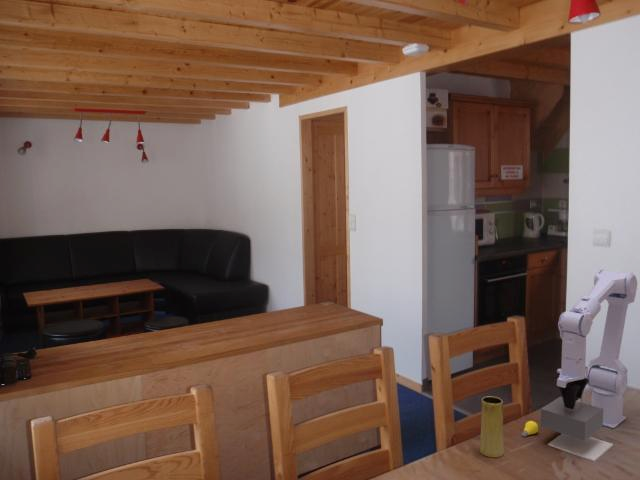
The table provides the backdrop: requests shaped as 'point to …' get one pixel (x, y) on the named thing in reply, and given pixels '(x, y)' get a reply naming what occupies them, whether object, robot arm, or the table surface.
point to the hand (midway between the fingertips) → (572, 405)
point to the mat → (581, 446)
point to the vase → (492, 427)
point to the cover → (572, 418)
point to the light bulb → (530, 428)
